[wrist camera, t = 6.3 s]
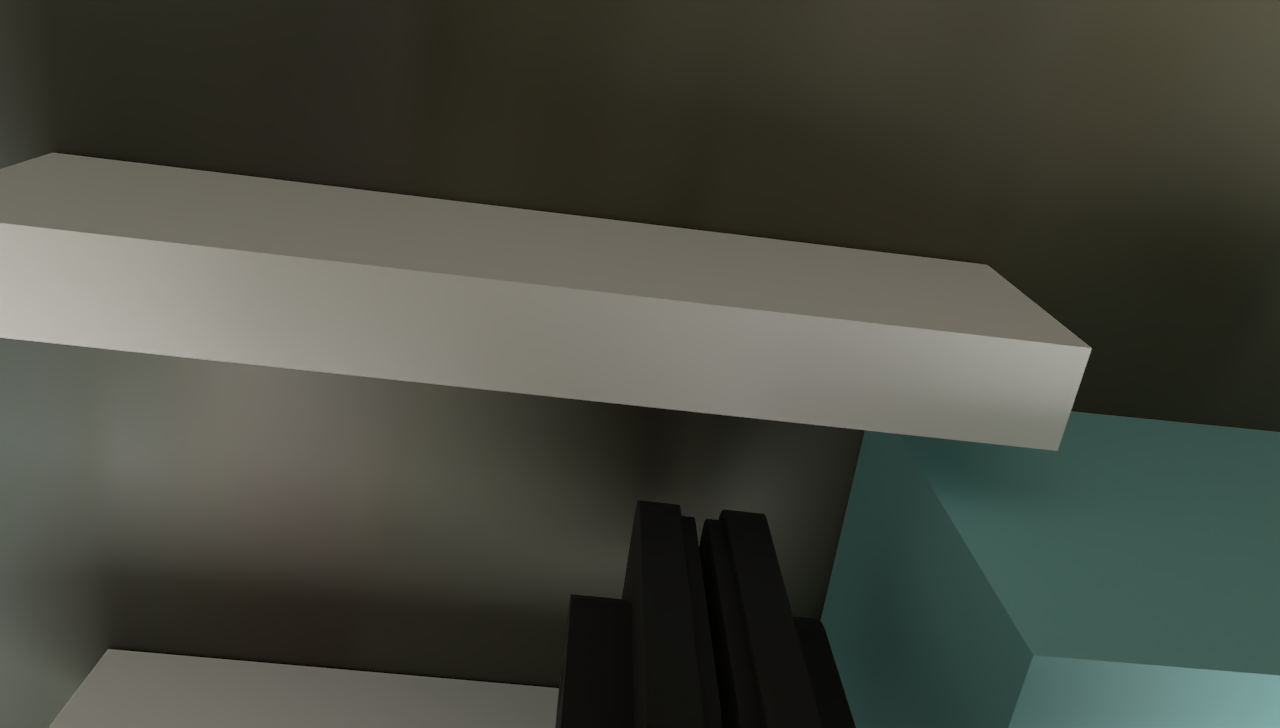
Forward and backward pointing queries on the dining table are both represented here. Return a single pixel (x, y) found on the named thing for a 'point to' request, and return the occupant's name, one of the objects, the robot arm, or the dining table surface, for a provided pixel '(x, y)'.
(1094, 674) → the teal block
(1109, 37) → the dining table surface
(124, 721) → the channel
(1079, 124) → the dining table surface
